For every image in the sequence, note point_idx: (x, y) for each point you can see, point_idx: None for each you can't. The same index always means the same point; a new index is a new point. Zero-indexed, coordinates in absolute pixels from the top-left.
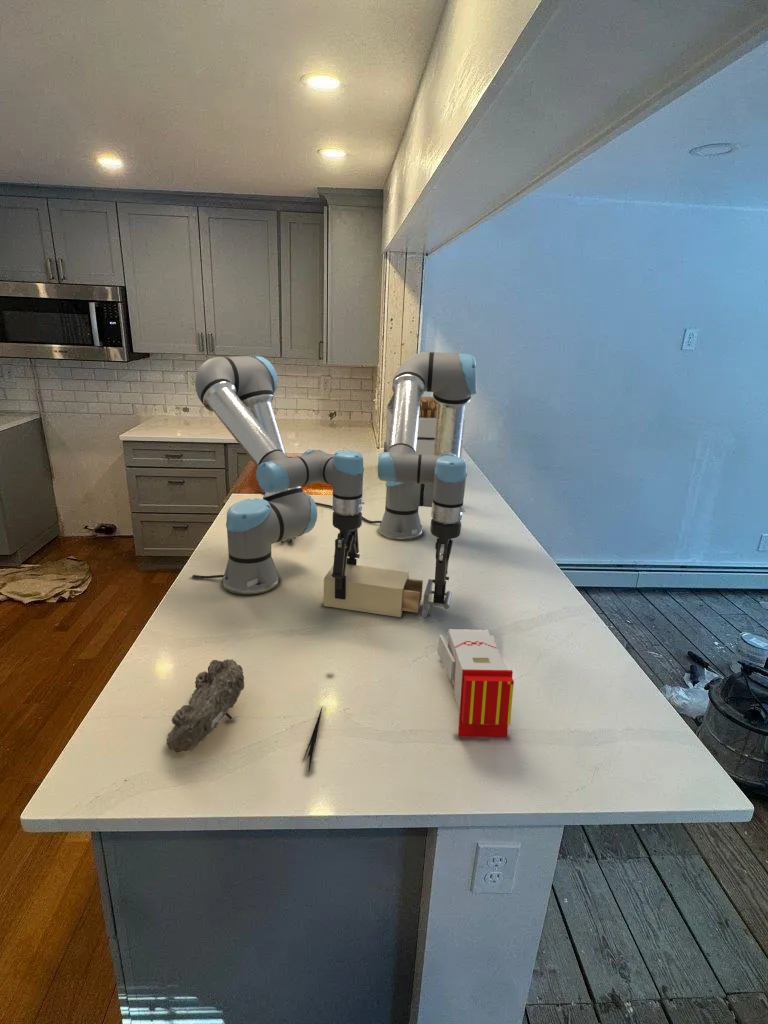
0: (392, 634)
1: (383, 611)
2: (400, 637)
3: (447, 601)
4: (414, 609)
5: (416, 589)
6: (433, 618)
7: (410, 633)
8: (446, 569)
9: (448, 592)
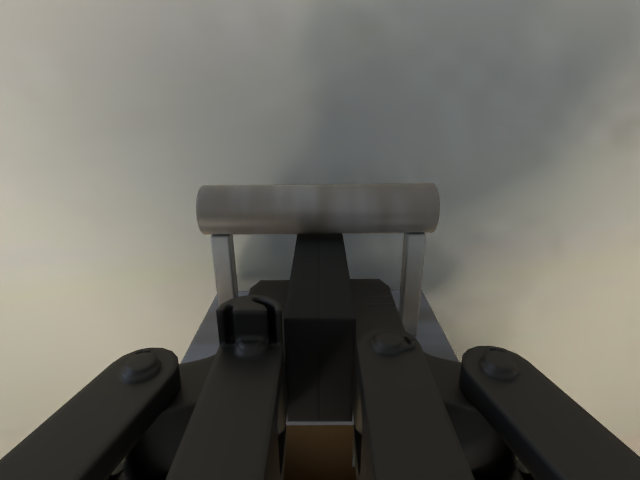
0: (579, 400)
1: None
2: (604, 367)
3: (390, 211)
4: None
5: None
6: (391, 247)
7: (565, 333)
8: (267, 473)
9: (226, 220)
